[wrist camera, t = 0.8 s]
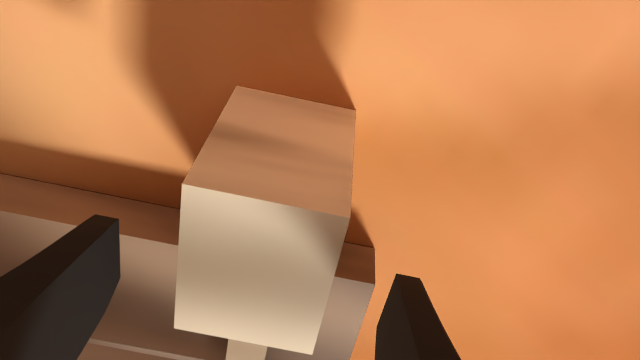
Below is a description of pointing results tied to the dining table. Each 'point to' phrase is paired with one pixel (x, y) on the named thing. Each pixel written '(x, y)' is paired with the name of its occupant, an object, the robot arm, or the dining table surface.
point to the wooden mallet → (264, 223)
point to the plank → (160, 275)
